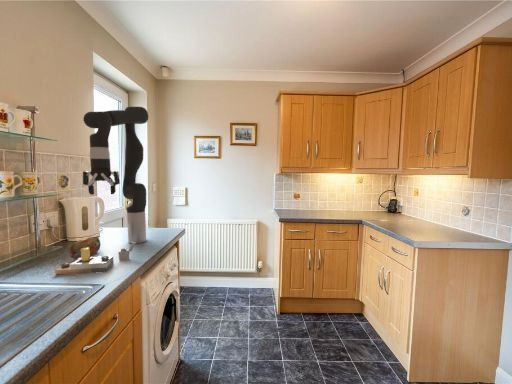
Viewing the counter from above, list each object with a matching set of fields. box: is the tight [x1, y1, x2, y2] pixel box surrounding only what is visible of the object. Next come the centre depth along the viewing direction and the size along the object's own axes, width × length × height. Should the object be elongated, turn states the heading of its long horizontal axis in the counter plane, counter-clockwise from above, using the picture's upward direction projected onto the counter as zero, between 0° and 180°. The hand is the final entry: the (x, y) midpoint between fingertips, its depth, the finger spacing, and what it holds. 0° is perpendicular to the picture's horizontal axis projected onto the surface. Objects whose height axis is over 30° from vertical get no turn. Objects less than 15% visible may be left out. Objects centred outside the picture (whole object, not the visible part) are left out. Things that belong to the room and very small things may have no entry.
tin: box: [69, 236, 101, 260], centre depth 119 cm, size 15×3×8 cm, turn 168°
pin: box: [81, 248, 91, 263], centre depth 103 cm, size 3×3×9 cm
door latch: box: [54, 255, 115, 275], centre depth 104 cm, size 8×18×5 cm, turn 99°
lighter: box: [118, 242, 137, 261], centre depth 115 cm, size 7×2×8 cm, turn 105°
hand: (102, 194), depth 113 cm, fingers open, 8 cm apart
